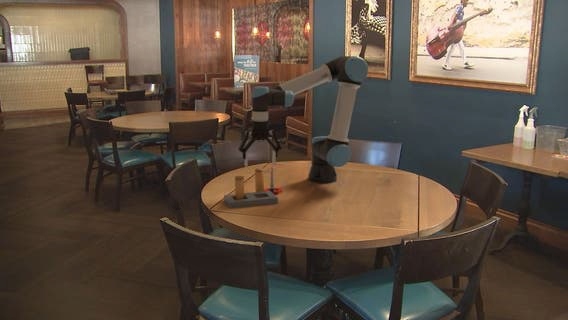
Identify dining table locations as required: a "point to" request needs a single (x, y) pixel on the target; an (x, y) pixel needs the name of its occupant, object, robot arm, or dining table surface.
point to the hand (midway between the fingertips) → (260, 165)
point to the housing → (251, 199)
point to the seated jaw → (239, 187)
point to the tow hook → (273, 185)
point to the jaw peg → (259, 180)
